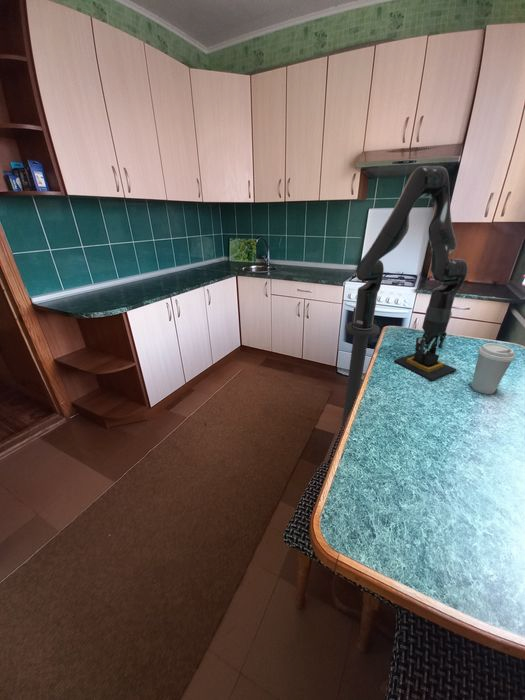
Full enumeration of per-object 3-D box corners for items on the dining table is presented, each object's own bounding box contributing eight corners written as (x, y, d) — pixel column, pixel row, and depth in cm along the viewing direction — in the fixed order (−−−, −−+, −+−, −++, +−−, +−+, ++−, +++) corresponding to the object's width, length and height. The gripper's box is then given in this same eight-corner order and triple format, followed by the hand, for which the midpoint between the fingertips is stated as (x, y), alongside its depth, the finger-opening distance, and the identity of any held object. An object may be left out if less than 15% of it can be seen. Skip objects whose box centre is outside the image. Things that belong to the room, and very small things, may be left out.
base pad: (393, 362, 115) (395, 356, 113) (417, 354, 120) (418, 348, 119) (431, 381, 102) (433, 375, 101) (455, 371, 108) (457, 365, 106)
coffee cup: (473, 395, 94) (488, 354, 87) (461, 379, 103) (474, 341, 96) (506, 398, 93) (524, 356, 86) (491, 381, 101) (506, 343, 94)
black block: (413, 359, 111) (415, 352, 110) (422, 355, 114) (424, 349, 112) (427, 366, 106) (429, 358, 105) (437, 362, 109) (439, 355, 107)
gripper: (439, 311, 108) (428, 351, 116) (413, 318, 102) (404, 360, 110) (459, 317, 102) (446, 359, 110) (433, 325, 96) (421, 368, 104)
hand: (425, 359), depth 110 cm, fingers closed on black block, 5 cm apart
